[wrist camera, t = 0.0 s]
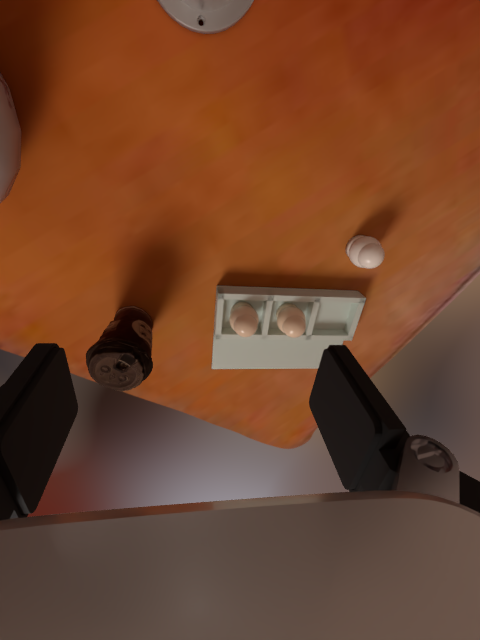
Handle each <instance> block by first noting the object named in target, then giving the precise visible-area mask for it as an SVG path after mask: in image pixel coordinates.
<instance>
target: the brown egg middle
mask: <svg viewBox="0 0 480 640" xmlns="http://www.w3.org/2000/svg"><path fill="white" fill-rule="evenodd" d="M276 317H277V325H278V327H279V329H280V330H281V331H282V332H283V333H285V334H286V335H287V336H289V337H292V338H296V337H299V336H301V335H302V334H303V333H304V332H305V329H306V318H305V315H304V313H303V312H302V310H300V309H299V308H297V306H296V305H295V304H293V303H285V304H283V305H281V306H280V307H279V308H278V309H277V311H276Z"/></svg>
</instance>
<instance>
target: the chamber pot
mask: <svg viewBox="0 0 480 640" xmlns="http://www.w3.org/2000/svg"><path fill="white" fill-rule="evenodd" d="M20 167H21V128H20V125H19V121H18V117H17V114H16V110H15V107H14V103H13V99H12V96H11V92H10V89H9V87H8V85H7V83H6V81H5V79H4V78H3V76H2V74H1V72H0V203H1V202H2V201H3V200H4V199H5V198H6V197H7V196H8V195H9V193H10V191H11V189H12V186H13V184H14V182H15V179H16V177H17V175H18V172H19V170H20Z"/></svg>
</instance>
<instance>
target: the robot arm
mask: <svg viewBox="0 0 480 640" xmlns="http://www.w3.org/2000/svg"><path fill="white" fill-rule="evenodd" d="M157 1H158V2H159V4H160V5H161V7H162V8H163V9H164V10H165V11H166V12H167V14H168V15H169V16H170V17H171V18H172V19H173V20H175V21H176V22H177V23H179V24H180V25H181V26H183V27H185V28H187V29H189V30H191V31H193V32H198V33H202V34H215V33H218V32H221V31H225V30H227V29H228V28H230V27H232V26H233V25H235V24H236V23H237V22H238V21H239V20H240V19H241V18H242V17H243V16H244V15H245V13H246V12H247V11H248V9H249V8H250V6H251V5H252V3H253V1H254V0H157ZM199 21H203V26H200V25H199ZM309 405H310V409H311V411H312V414H313V416H314V418H315V421H316V423H317V425H318V428H319V430H320V432H321V434H322V437H323V439H324V442H325V444H326V446H327V449H328V451H329V454H330V456H331V458H332V461H333V463H334V465H335V468H336V470H337V472H338V475H339V477H340V479H341V482H342V484H343V486H344V488H345V489H347V490H348V489H349V491H350V492H340V493H325V494H309V495H295V496H281V497H267V498H255V499H254V498H253V499H241V500H226V501H213V502H201V503H187V504H174V505H161V506H150V507H138V508H124V509H112V510H101V511H87V512H75V513H65V514H54V515H44V516H34V517H27V516H28V514H29V513H33V512H34V511H35V510H36V508H37V506H38V503H39V501H40V499H41V496H42V494H43V492H44V489H45V487H46V485H47V482H48V480H49V478H50V475H51V473H52V471H53V469H54V466H55V464H56V461H57V459H58V457H59V455H60V452H61V450H62V448H63V445H64V443H65V441H66V438H67V436H68V434H69V431H70V429H71V427H72V424H73V422H74V419H75V417H76V415H77V411H78V404H77V400H76V395H75V391H74V387H73V383H72V379H71V375H70V371H69V367H68V362H67V358H66V354H65V351H64V349H63V348H59V346H58V345H57V344H55V343H38V344H36V345H35V346H34V347H33V348H32V349H31V351H30V352H29V353H28V354H27V356H26V357H25V358H24V360H23V361H22V362H21V363H20V365H19V366H18V367H17V369H16V370H15V371H14V372H13V374H12V375H11V376H10V378H9V379H8V380H7V381H6V383H5V384H3V385H2V386H1V387H0V640H480V482H479V481H477V480H476V479H474V478H472V477H470V476H468V475H466V474H464V473H463V472H461V471H459V465H458V461H457V460H456V458H455V456H454V455H453V454H452V453H451V451H450V450H449V449H448V448H447V447H445V446H444V445H443V444H441V443H440V442H438V441H436V440H435V439H433V438H430V437H427V436H423V435H412V436H409V434H408V433H407V431H406V428H405V426H404V425H403V424H402V422H401V421H400V420H399V418H398V417H397V415H396V414H395V413H394V411H393V410H392V408H391V407H390V406H389V404H388V403H387V402H386V400H385V399H384V397H383V396H382V395H381V393H380V392H379V391H378V389H377V388H376V386H375V385H374V384H373V382H372V381H371V380H370V378H369V377H368V375H367V374H366V373H365V371H364V370H363V369H362V367H361V366H360V364H359V363H358V362H357V360H356V359H355V358H354V356H353V355H352V353H351V352H350V351H349V349H348V348H347V347H346V346H345V345H329V347H328V348H327V349H324V351H323V354H322V357H321V361H320V364H319V368H318V371H317V375H316V378H315V382H314V385H313V388H312V392H311V395H310V399H309Z"/></svg>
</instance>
